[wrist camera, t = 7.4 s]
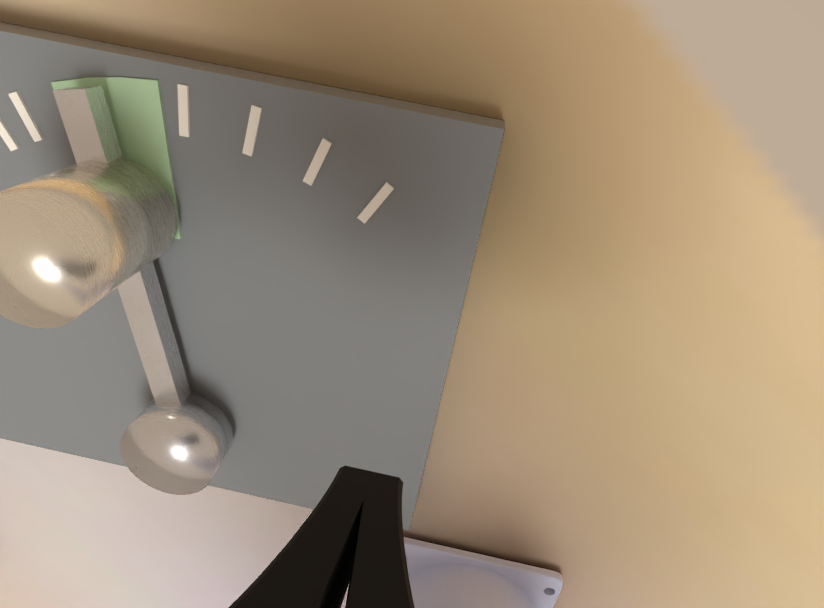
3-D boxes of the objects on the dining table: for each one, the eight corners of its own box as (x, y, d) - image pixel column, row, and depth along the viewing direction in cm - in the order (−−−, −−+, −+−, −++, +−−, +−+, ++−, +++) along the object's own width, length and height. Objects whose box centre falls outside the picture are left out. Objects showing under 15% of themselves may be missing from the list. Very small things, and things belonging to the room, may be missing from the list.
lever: (240, 463, 23) (186, 560, 19) (159, 459, 24) (89, 552, 19) (143, 83, 16) (26, 108, 12) (31, 88, 17) (-115, 114, 13)
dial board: (413, 503, 25) (408, 532, 24) (14, 414, 26) (-13, 437, 25) (503, 120, 17) (504, 130, 16) (-79, 6, 18) (-127, 6, 17)
